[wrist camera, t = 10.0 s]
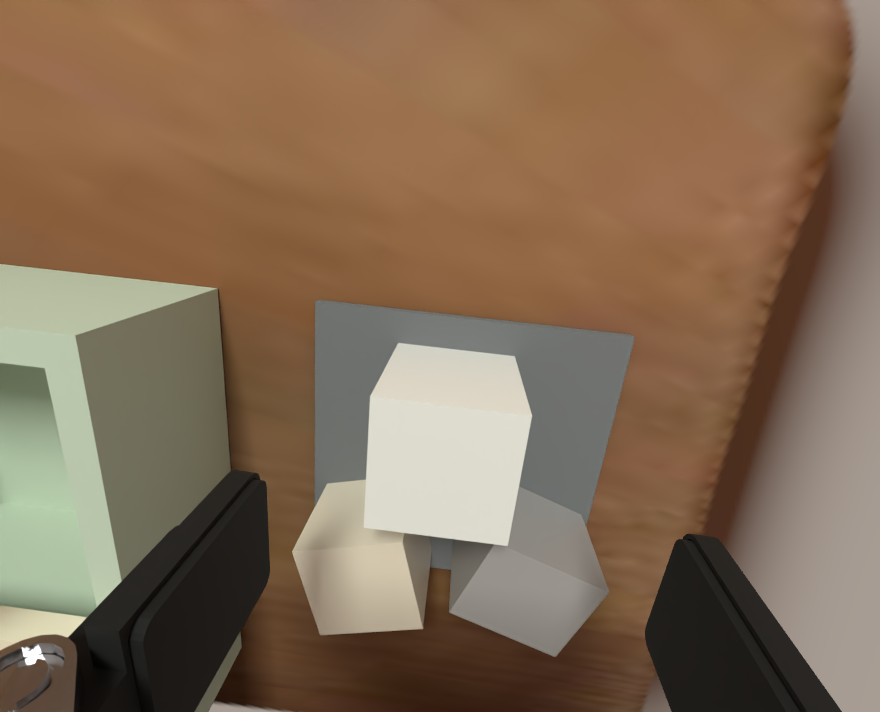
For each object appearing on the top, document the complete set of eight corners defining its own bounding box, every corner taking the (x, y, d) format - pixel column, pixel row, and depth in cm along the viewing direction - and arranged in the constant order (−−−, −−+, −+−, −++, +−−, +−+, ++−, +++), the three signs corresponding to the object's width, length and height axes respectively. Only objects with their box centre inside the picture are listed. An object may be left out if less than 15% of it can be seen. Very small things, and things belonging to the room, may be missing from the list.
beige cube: (348, 555, 20) (320, 635, 17) (327, 483, 19) (292, 551, 15) (431, 548, 20) (423, 628, 16) (416, 474, 19) (402, 542, 15)
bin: (28, 617, 24) (-125, 760, 18) (-78, 255, 17) (-377, 282, 11) (243, 647, 23) (163, 803, 17) (217, 288, 17) (75, 335, 11)
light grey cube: (453, 533, 20) (449, 612, 16) (490, 473, 18) (495, 542, 15) (539, 572, 20) (555, 657, 16) (581, 514, 19) (609, 592, 15)
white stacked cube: (391, 444, 18) (363, 527, 14) (398, 342, 17) (370, 396, 12) (498, 457, 18) (507, 545, 13) (514, 356, 17) (532, 415, 12)
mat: (317, 546, 21) (314, 552, 20) (318, 299, 17) (315, 301, 17) (569, 578, 21) (570, 585, 20) (630, 334, 17) (634, 337, 16)
